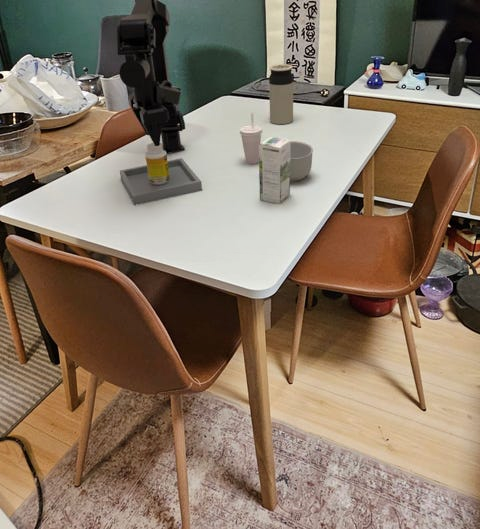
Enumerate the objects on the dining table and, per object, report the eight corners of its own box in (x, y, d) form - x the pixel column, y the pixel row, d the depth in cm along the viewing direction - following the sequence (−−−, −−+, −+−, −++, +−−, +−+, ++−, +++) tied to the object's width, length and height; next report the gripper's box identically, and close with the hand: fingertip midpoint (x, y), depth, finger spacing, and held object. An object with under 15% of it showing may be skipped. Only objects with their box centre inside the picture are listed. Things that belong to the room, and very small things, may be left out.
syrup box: (270, 190, 126) (268, 135, 118) (291, 194, 123) (291, 138, 115) (259, 200, 122) (257, 143, 114) (280, 204, 119) (280, 147, 111)
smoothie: (261, 166, 139) (259, 117, 131) (239, 165, 140) (236, 117, 133) (265, 157, 144) (263, 109, 136) (243, 157, 146) (240, 109, 138)
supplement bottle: (171, 184, 131) (165, 147, 125) (150, 186, 130) (144, 149, 124) (169, 176, 135) (164, 140, 130) (149, 178, 135) (143, 142, 129)
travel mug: (293, 124, 167) (294, 68, 157) (270, 125, 167) (269, 70, 157) (292, 116, 174) (292, 63, 164) (269, 118, 174) (268, 64, 164)
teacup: (315, 170, 135) (316, 142, 130) (307, 187, 126) (307, 157, 122) (267, 166, 139) (266, 139, 134) (255, 182, 131) (254, 154, 126)
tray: (121, 178, 138) (119, 170, 136) (182, 166, 143) (181, 158, 141) (134, 205, 124) (132, 196, 122) (202, 190, 129) (201, 181, 127)
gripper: (186, 79, 112) (193, 145, 121) (165, 65, 127) (173, 124, 135) (138, 87, 109) (149, 154, 118) (122, 71, 124) (133, 131, 132)
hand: (153, 140), depth 126 cm, fingers open, 9 cm apart
